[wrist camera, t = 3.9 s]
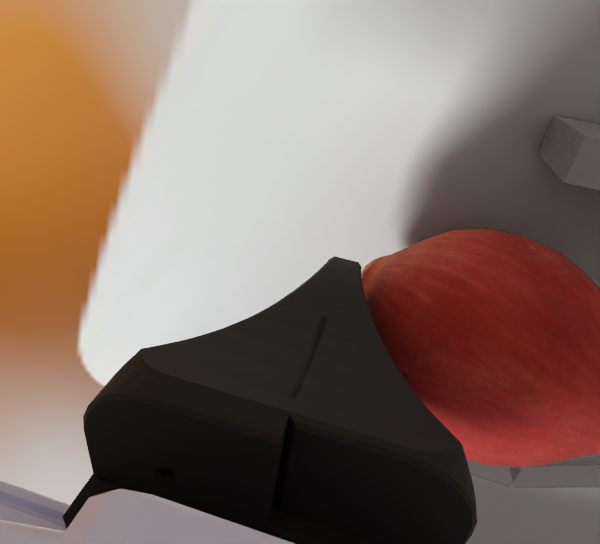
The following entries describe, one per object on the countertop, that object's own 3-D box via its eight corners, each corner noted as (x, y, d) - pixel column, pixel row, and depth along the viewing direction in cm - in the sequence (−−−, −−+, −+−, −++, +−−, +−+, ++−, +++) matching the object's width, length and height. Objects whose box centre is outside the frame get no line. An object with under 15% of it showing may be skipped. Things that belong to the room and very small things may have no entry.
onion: (440, 196, 15) (730, 321, 10) (370, 337, 16) (593, 492, 12) (356, 167, 10) (819, 373, 6) (270, 368, 12) (578, 638, 7)
